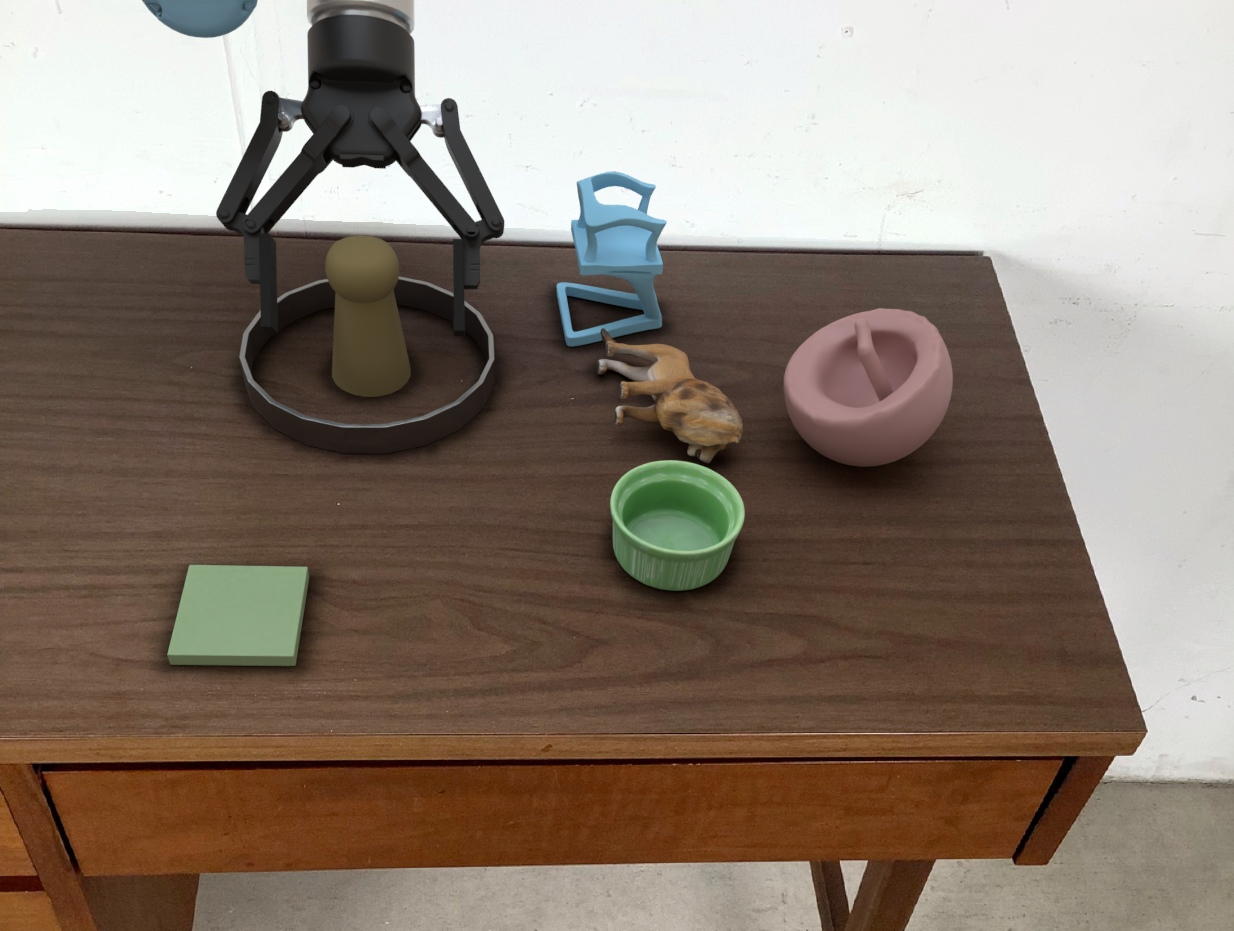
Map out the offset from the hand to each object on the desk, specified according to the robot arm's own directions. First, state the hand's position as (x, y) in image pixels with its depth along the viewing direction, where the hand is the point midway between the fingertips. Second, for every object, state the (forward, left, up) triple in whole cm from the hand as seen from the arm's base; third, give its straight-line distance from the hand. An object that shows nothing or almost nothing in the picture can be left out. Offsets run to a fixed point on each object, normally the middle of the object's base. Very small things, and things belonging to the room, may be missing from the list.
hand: (365, 332), depth 89 cm
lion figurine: (+18, +3, -3) cm, 18 cm away
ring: (-1, +2, -5) cm, 6 cm away
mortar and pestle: (+36, +5, -5) cm, 37 cm away
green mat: (0, -24, -5) cm, 25 cm away
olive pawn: (-1, +2, -5) cm, 6 cm away
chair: (+15, +15, -5) cm, 22 cm away
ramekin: (+25, -10, -5) cm, 28 cm away
